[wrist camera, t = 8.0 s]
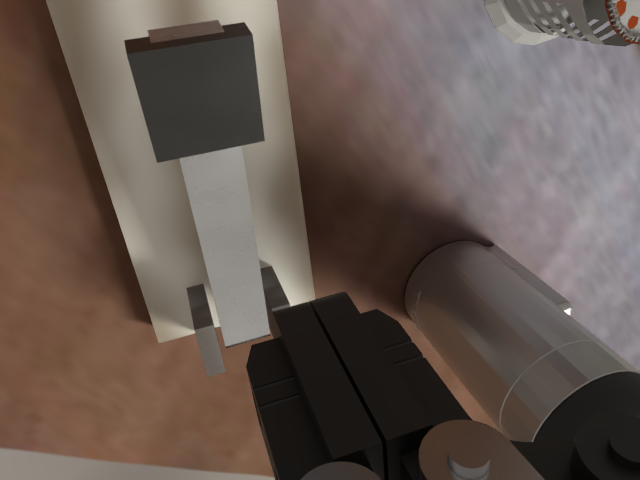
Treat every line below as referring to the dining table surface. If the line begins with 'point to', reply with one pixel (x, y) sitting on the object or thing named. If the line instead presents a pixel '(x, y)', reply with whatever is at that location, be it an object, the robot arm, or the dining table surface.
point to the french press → (566, 20)
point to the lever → (210, 151)
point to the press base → (166, 177)
